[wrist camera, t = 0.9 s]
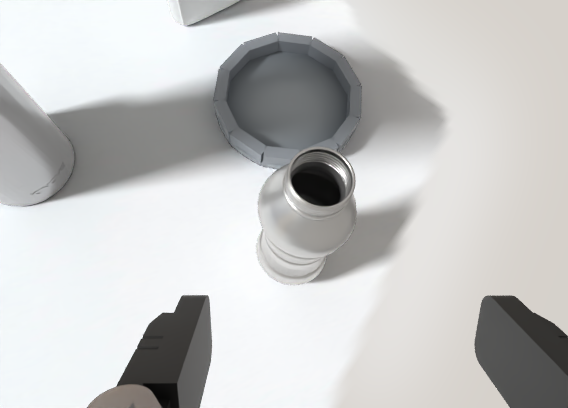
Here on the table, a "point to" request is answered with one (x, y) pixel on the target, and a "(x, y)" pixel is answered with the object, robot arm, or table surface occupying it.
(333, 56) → the round tray
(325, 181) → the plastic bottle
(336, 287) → the table surface
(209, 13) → the photo printer
